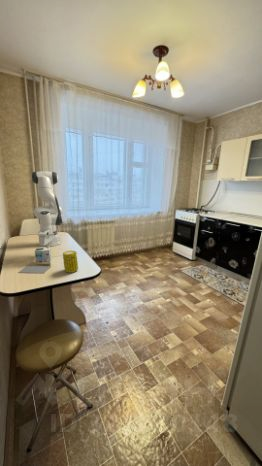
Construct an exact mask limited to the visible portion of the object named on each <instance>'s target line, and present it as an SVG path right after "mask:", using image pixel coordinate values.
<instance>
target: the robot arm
mask: <svg viewBox="0 0 262 466" xmlns="http://www.w3.org/2000/svg"><path fill="white" fill-rule="evenodd" d="M30 177H31V178H30V179H31V181H32V183H33V184H36V185H37V194H38V197H39V198H40V199H41V201H42V202H44V203H46V204H48V205H47V206H46V205H43V206H41V205H40V206H36V207H35V208H34V209H33V214H34V216H35V217H36V218H38V224H39V225H40V227H39V229H40V230H39V231H38V233H37V236H38V244H39V246H40V247H45V248H51V247H56V246H61V245H62V244H63V241H64V240H63V239H61V235H59V234H58V232H59V230H58V229H57V226H58V227H59V226H61V225H62V224H63V223H64V219H63V215H62V214H63V208H62V207H61V206H60V205H59V201H58V198H57V195H55V194H54V188H53V186H54V185H57V184H58V181H59V175H58V174H57V172H54V171H48V170H47V171H41V170H39V171H36V170H35V171H32V173H31V176H30Z"/></svg>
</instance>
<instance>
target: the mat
mask: <svg viewBox="0 0 262 466" xmlns="http://www.w3.org/2000/svg"><path fill="white" fill-rule="evenodd" d="M51 267H52V265H51V266H33V265H29V264H28V265H26V266H24V267H23V268H22V269H21V270H20V271H18V272H17V273H18V274H45V273H46V272H47V271H49V269H50V268H51Z"/></svg>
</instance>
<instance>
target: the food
mask: <svg viewBox="0 0 262 466" xmlns="http://www.w3.org/2000/svg"><path fill="white" fill-rule="evenodd" d="M62 260H63V267H64V271H65V273H69V274H70V273H75V272H77V271H78V270H79V263H78V255H77V251H76V250H66V251H63V252H62Z"/></svg>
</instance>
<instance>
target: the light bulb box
mask: <svg viewBox="0 0 262 466" xmlns="http://www.w3.org/2000/svg"><path fill="white" fill-rule="evenodd" d="M34 256H35V257H34V258H35V259H34V260H35V262H41V263H51V262H52V252H51V247H49V248H46V247H37V248H35V250H34Z"/></svg>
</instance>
